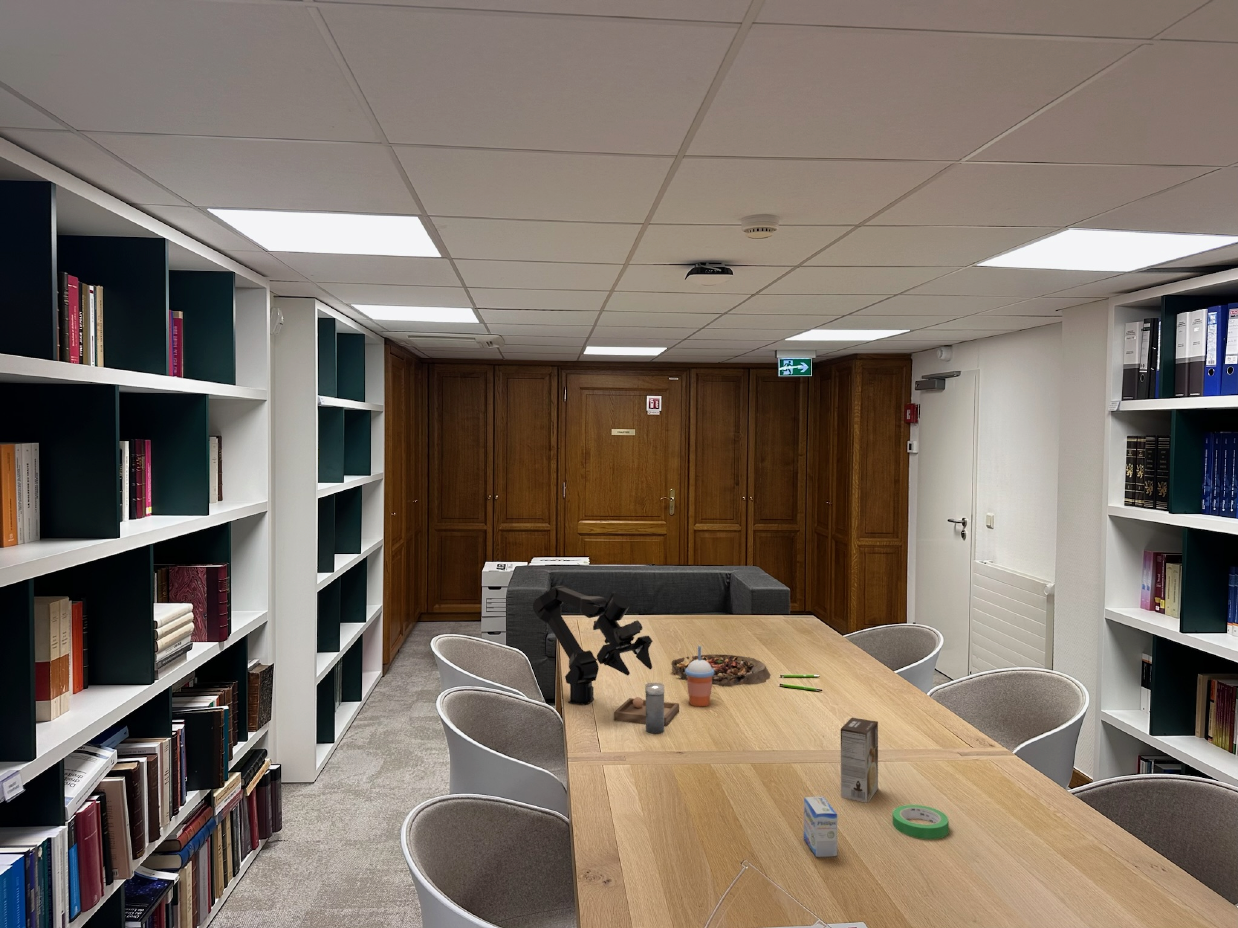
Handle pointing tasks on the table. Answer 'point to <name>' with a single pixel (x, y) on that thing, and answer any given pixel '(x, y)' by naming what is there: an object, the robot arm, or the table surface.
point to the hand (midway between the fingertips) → (640, 671)
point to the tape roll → (920, 830)
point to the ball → (638, 702)
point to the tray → (643, 712)
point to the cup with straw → (699, 681)
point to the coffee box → (859, 759)
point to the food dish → (728, 669)
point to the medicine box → (820, 827)
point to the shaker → (654, 708)
